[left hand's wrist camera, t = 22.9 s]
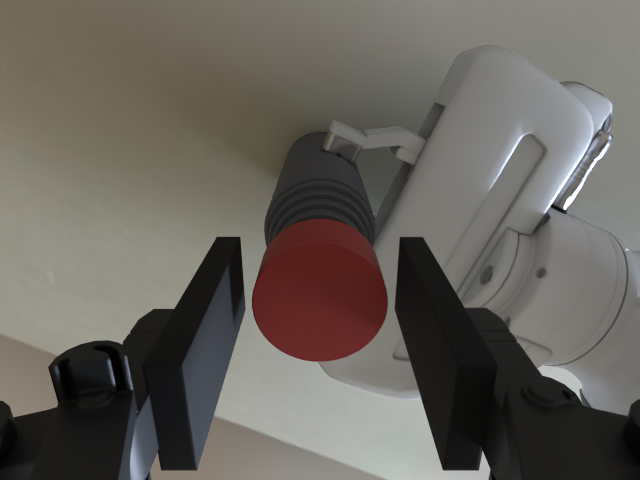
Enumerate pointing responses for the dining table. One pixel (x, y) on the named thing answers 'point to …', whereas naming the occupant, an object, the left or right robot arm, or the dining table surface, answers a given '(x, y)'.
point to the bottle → (318, 191)
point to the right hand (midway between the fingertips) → (304, 186)
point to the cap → (320, 291)
